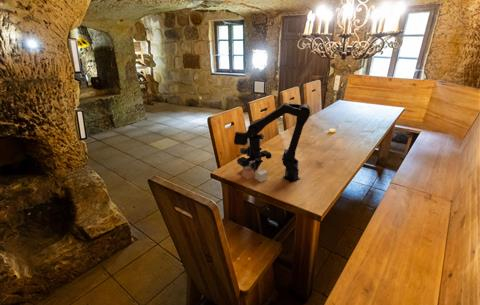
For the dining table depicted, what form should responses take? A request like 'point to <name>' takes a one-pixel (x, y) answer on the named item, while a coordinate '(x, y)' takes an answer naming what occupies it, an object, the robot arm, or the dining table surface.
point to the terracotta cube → (248, 172)
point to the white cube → (261, 175)
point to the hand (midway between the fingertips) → (254, 172)
